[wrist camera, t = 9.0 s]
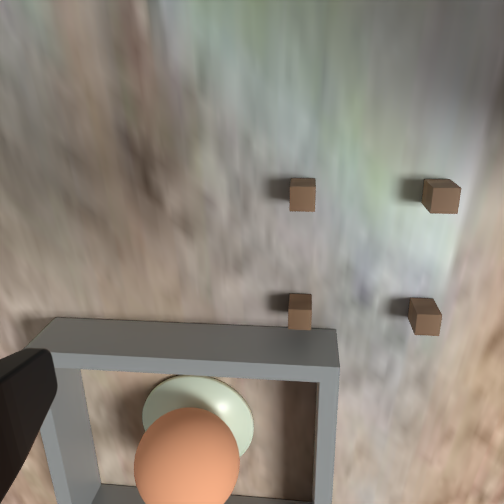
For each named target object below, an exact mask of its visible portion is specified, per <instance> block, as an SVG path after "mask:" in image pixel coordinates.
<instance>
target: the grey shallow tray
mask: <svg viewBox="0 0 504 504" xmlns="http://www.w3.org/2000/svg"><path fill="white" fill-rule="evenodd" d="M26 348H46V349H48V350H49V351H50V352H51V354H52V358H53V363H54V368H55V372H56V377H57V383H58V388H57V393H56V396H55V399H54V401H53V403H52V405H51V407H50V409H49V411H48V413H47V416H46V418H45V420H44V422H43V424H42V426H41V428H40V432H41V436H42V440H43V444H44V449H45V453H46V457H47V461H48V466H49V470H50V474H51V478H52V483H53V487H54V491H55V495H56V500H57V504H146V503H145V502H144V501H143V499H142V497H141V496H140V493H139V491H138V488H137V487H130V486H119V485H107V484H101V480H100V474H99V469H98V464H97V458H96V453H95V447H94V442H93V436H92V431H91V426H90V420H89V415H88V409H87V404H86V399H85V393H84V388H83V382H82V377H81V371H80V369H90V370H108V371H125V372H143V373H161V374H179V376H175V377H172V378H169V379H167V380H165V381H163V382H161V383H160V384H159V385H157V386H156V387H155V388H154V389H153V390H152V391H151V393H150V394H149V396H148V398H147V400H146V402H145V404H144V407H143V413H142V421H143V426H144V429H145V432H146V431H147V429H148V428H149V426H150V425H152V424H153V423H154V422H155V421H156V420H157V419H158V418H159V417H161V416H162V415H164V414H166V413H168V412H170V411H173V410H175V409H179V408H185V407H193V408H200V409H204V410H207V411H209V412H212V413H213V414H215V415H217V416H218V417H219V418H221V419H222V420H223V421H224V422H225V423H226V424H227V426H228V427H229V428H230V430H231V431H232V433H233V435H234V437H235V439H236V442H237V446H238V449H239V457H241V456H242V455H243V454H244V453H245V451H246V450H247V449H248V447H249V445H250V443H251V441H252V437H253V431H254V421H253V416H252V412H251V410H250V408H249V406H248V404H247V403H246V401H245V400H244V399H243V397H242V396H241V395H240V394H239V393H238V392H237V391H236V390H234V389H233V388H232V387H230V386H229V385H227V384H225V383H224V382H222V381H219V380H217V379H214V378H211V377H208V376H214V377H232V378H249V379H267V380H285V381H303V382H317V389H316V414H315V440H314V465H313V490H312V502H305V501H294V500H282V499H270V498H259V497H247V496H235V495H230V496H229V498H228V499H227V500H226V502H225V503H224V504H332V490H333V474H334V457H335V441H336V425H337V408H338V392H339V376H340V363H339V353H338V344H337V334H336V330H334V329H311V330H293V329H288V327H265V326H242V325H219V324H196V323H173V322H150V321H127V320H104V319H81V318H57V317H56V318H55V319H54V320H53V321H51V322H50V323H49V324H48V325H47V326H46V327H45V328H44V329H43V330H42V331H41V332H40V333H39V334H38V335H37V336H36V337H35V338H34V339H33V340H32V341H31V342H30V343H29V344H28V345H27V346H26V347H25V348H24V349H26Z"/></svg>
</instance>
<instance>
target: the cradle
mask: <svg viewBox="0 0 504 504" xmlns="http://www.w3.org/2000/svg"><path fill="white" fill-rule="evenodd" d="M315 193H316V183H315V178H291V183H290V211H306V212H315ZM460 193H461V187H459V186H458V185H457V184H455V183H454V182H453V181H451V180H450V179H424V186H423V194H422V204H423V205H424V207H425V208H426V209H427V210H428V211H429V212H430V213H442V214H457V213H458V207H459V200H460ZM311 315H312V295H311V294H290V296H289V308H288V329H293V330H311ZM408 319H409V322H410V324H411V327H412V329H413V332H414V334H415V335H430V336H439V333H440V326H441V320H442V314H441V312H440V310H439V308H438V307H437V305H436V303H435V301H434V299H428V298H410V303H409V311H408Z"/></svg>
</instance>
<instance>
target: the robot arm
mask: <svg viewBox="0 0 504 504" xmlns="http://www.w3.org/2000/svg"><path fill="white" fill-rule="evenodd" d="M57 388H58V383H57V377H56V372H55V368H54V363H53V358H52V354H51V352H50V351H49V350H48V349H46V348H26V349H23V350H21V351H19V352H16V353H14V354H12V355H9V356H7V357H5V358H2V359H0V503H1V502H2V500H3V498H4V497H5V495H6V493H7V492H8V490H9V488H10V486H11V485H12V483H13V481H14V480H15V478H16V476H17V475H18V473H19V471H20V469H21V467H22V466H23V464H24V462H25V460H26V458H27V456H28V454H29V452H30V450H31V447H32V445H33V443H34V441H35V439H36V437H37V435H38V433H39V430H40V428H41V426H42V424H43V422H44V420H45V418H46V416H47V413H48V411H49V409H50V407H51V405H52V403H53V401H54V399H55V396H56V393H57Z"/></svg>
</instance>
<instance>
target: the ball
mask: <svg viewBox="0 0 504 504" xmlns="http://www.w3.org/2000/svg"><path fill="white" fill-rule="evenodd" d="M239 464H240V457H239V449H238V446H237V442H236V439H235V437H234V435H233V433H232V431H231V430H230V428H229V427H228V426H227V424H226V423H225V422H224V421H223V420H222V419H221V418H219V417H218V416H217V415H215V414H213V413H212V412H209V411H207V410H204V409H200V408H193V407H185V408H179V409H175V410H173V411H170V412H168V413H166V414H164V415H162V416H161V417H159V418H158V419H157V420H156V421H155V422H154V423H153V424H152V425H150V426H149V428H148V429H147V431H146V432H145V433H144V435H143V436H142V438H141V440H140V443H139V445H138V448H137V451H136V454H135V461H134V477H135V482H136V486H137V488H138V491H139V493H140V496H141V497H142V499H143V501H144V502H145V503H146V504H224V503H225V502H226V500H227V499H228V498H229V496H230V494H231V493H232V491H233V489H234V487H235V484H236V481H237V478H238V473H239Z"/></svg>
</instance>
